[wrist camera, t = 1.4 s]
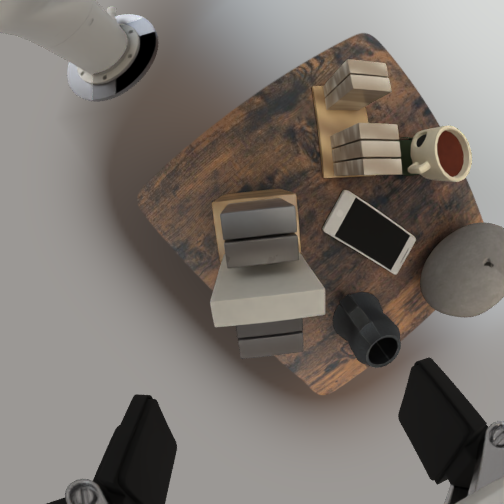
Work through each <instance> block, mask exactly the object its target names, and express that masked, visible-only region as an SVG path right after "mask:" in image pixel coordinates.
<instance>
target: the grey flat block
mask: <svg viewBox="0 0 504 504" xmlns="http://www.w3.org/2000/svg"><path fill="white" fill-rule="evenodd" d="M210 304H211V311H212V316H213V321H214V326H215V327H223V326H235V325H246V324H255V323H265V322H273V321H282V320H290V319H297V318H305V317H312V316H319V315H325V288H324V287H323V285H322V284H321V282H320V281H319V279H318V278H317V277H316V275H315V274H314V272H313V271H312V269H311V268H310V266H309V265H308V264H307V262H306V261H305V259H304V258H303V256H302V255H301V254H300V252H299V260H298V261H291V262H282V263H273V264H264V265H255V266H246V267H237V268H227V264H226V257H225V254H224V256H223V259H222V262H221V266H220V269H219V273H218V276H217V279H216V283H215V286H214V290H213V293H212V297H211V300H210Z"/></svg>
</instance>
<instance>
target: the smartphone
mask: <svg viewBox="0 0 504 504" xmlns="http://www.w3.org/2000/svg"><path fill="white" fill-rule="evenodd" d="M322 230H323V231H324V232H325V233H327V234H328V235H330V236H332V237H334V238H335V239H337V240H339V241H340V242H342V243H344V244H346V245H347V246H349V247H351V248H352V249H354V250H356V251H357V252H359V253H361V254H362V255H364V256H366V257H367V258H369V259H370V260H372V261H374V262H375V263H377V264H379V265H380V266H382V267H383V268H385V269H387V270H388V271H390V272H391V273H393V274H397V273H398V271H399V270H400V268H401V266H402V264H403V263H404V261H405V259H406V257H407V256H408V254H409V252H410V250H411V248H412V246H413V245H414V243H415V241H416V238H415V237H414V236H413V235H411V234H410V233H409V232H407V231H406V230H405V229H403V228H402V227H401V226H399V225H398V224H396V223H395V222H394V221H392V220H391V219H390V218H388V217H387V216H385V215H384V214H382V213H381V212H380V211H378V210H377V209H375V208H374V207H372V206H371V205H369V204H368V203H366V202H365V201H363V200H362V199H360V198H359V197H357V196H356V195H354V194H353V193H351V192H350V191H348V190H343V191H342V193H341V195H340V197H339V199H338V200H337V202H336V204H335V206H334V208H333V210H332V211H331V213H330V215H329V217H328V219H327V220H326V222H325V224H324V226H323V228H322Z"/></svg>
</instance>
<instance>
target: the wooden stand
mask: <svg viewBox="0 0 504 504" xmlns="http://www.w3.org/2000/svg"><path fill="white" fill-rule="evenodd" d="M212 210H213V217H214V225H215V232H216V239H217V247H218V254H219V261H220V266H221V262H222V259H223V256H224V254H225V257H226V264H227V268H237V267H246V266H255V265H264V264H273V263H282V262H291V261H298V260H299V252H300V254H301V246H300V232H299V219H298V207H297V196H296V193H293V192H289V191H286V190H282V189H270V190H260V191H251V192H242V193H233V194H225V195H223V196H221V197H220V198H218V199H217V200H215V201H214V202H212ZM236 331H237V337H238V344H239V350H240V356H241V359H243V358H255V357H264V356H273V355H282V354H289V353H297V352H303V332H302V331H303V320H302V318H297V319H290V320H282V321H273V322H265V323H255V324H246V325H236Z"/></svg>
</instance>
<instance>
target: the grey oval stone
mask: <svg viewBox="0 0 504 504" xmlns="http://www.w3.org/2000/svg"><path fill="white" fill-rule="evenodd" d="M420 287H421V292H422V294H423V296H424V298H425V300H426V301H427V303H428V304H429V305H430V306H431V307H432V308H434V309H435V310H437V311H439V312H441V313H443V314H447V315H451V316H456V317H473V316H477V315H480V314H482V313H484V312H486V311H487V310H489V309H490V308H492V307H493V306H494V305H495V304H497V303H498V302H499V301H500V300H501V299H502V298H503V297H504V228H502V227H500V226H498V225H495V224H490V223H475V224H470V225H467V226H464V227H462V228H460V229H458V230H456V231H454V232H453V233H451V234H450V235H448V236H447V237H446V238H444V239H443V240H442V241H441V242H440V243H439V244H438V245H437V246H436V247H435V248H434V250H433V251H432V252H431V254H430V255H429V257H428V258H427V260H426V262H425V264H424V267H423V270H422V273H421V279H420Z"/></svg>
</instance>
